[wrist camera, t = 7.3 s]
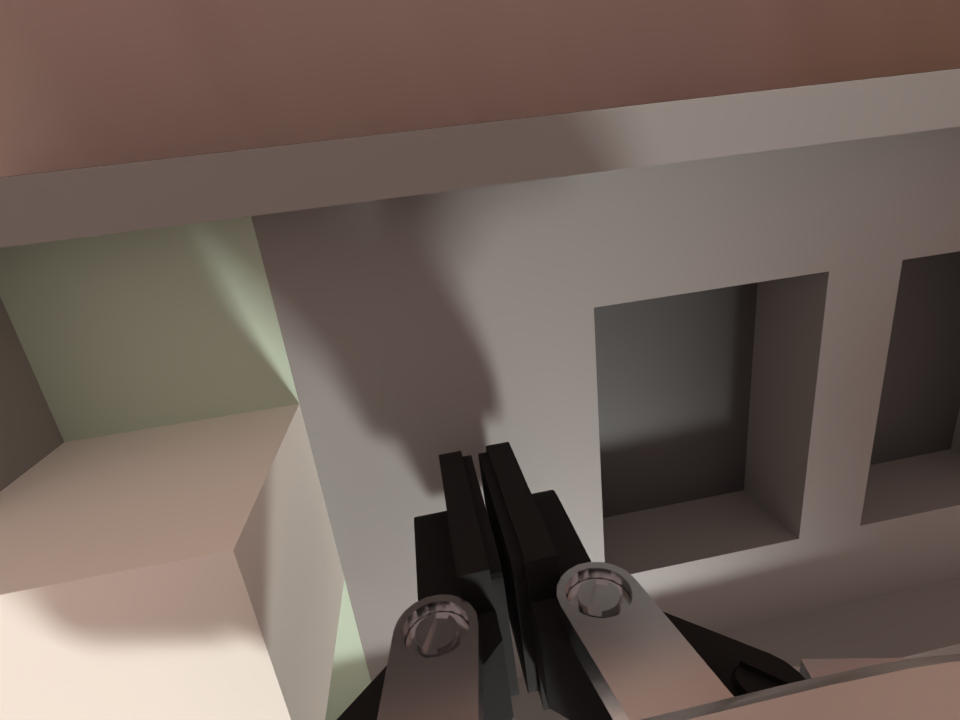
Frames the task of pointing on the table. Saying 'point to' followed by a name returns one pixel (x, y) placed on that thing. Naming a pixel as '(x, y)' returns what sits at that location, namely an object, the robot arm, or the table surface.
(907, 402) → the box
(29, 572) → the cream block
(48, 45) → the table surface
